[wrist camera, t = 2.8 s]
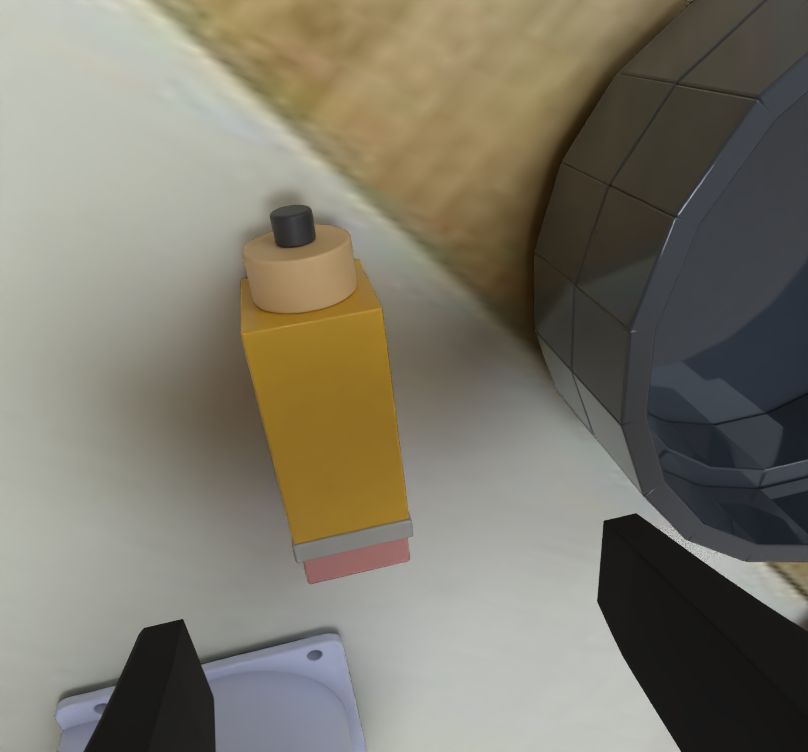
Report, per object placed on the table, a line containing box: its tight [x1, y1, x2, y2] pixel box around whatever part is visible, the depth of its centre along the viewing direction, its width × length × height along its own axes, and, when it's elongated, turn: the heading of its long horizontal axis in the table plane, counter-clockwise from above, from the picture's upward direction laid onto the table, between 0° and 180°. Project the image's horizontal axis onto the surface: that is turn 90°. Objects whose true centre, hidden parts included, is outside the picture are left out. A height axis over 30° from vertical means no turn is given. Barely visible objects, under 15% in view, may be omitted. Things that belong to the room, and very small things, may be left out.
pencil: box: [240, 205, 413, 584], centre depth 16 cm, size 10×3×3 cm, turn 6°
